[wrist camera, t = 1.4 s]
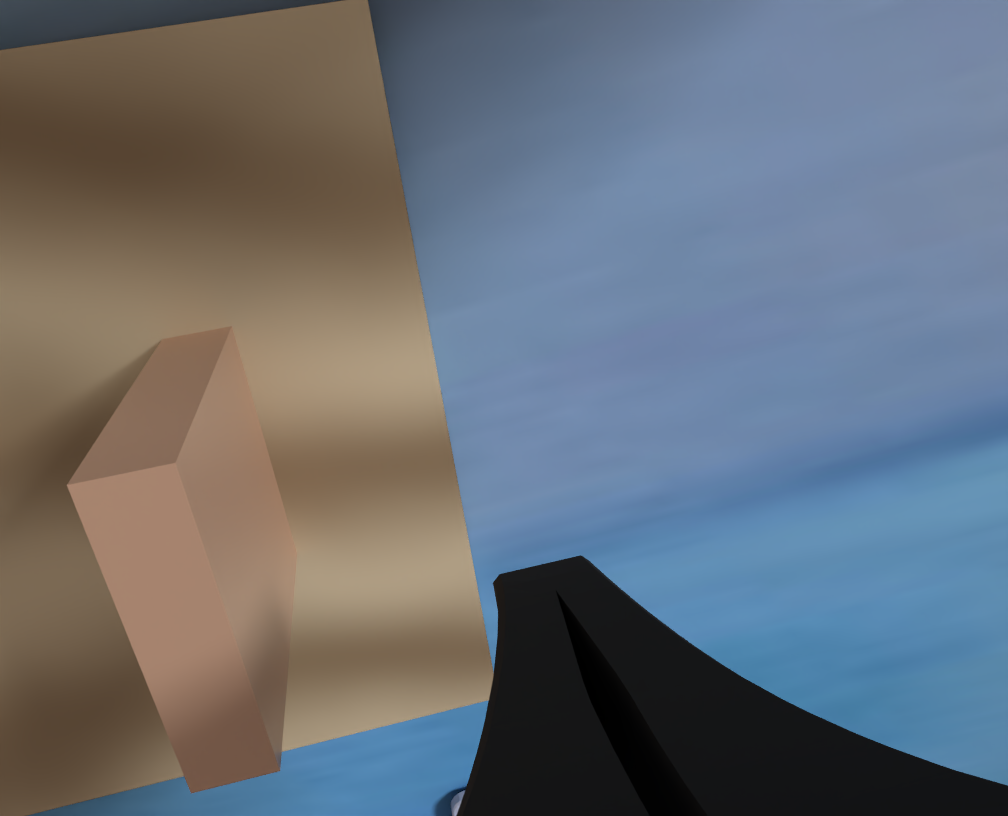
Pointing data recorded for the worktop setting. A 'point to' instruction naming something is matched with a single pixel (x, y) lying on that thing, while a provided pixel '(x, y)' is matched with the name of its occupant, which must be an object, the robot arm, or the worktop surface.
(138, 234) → the wooden board
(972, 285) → the worktop surface
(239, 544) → the tile
